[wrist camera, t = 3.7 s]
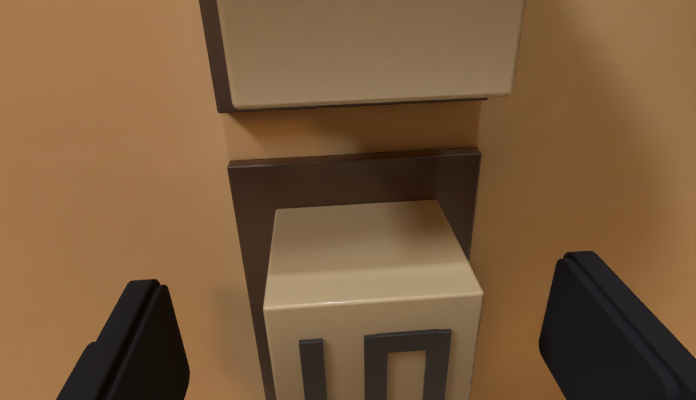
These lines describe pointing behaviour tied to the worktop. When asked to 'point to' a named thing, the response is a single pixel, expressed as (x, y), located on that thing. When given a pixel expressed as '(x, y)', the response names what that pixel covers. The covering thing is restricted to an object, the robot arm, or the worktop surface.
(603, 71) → the worktop surface
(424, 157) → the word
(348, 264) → the tile
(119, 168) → the worktop surface
